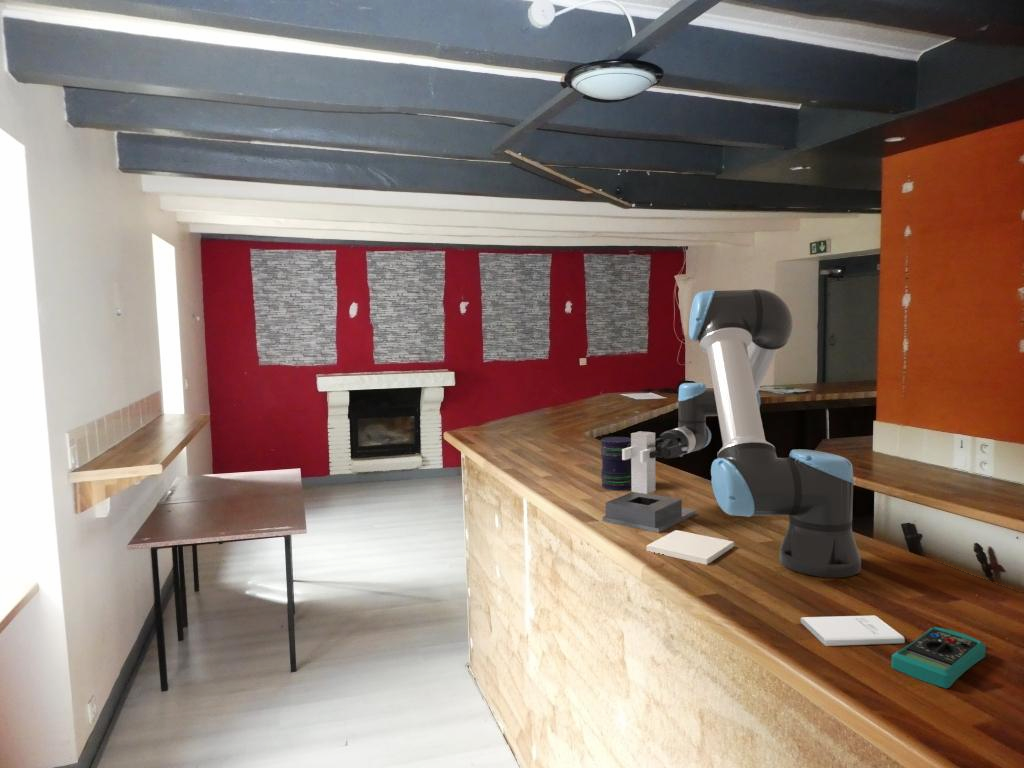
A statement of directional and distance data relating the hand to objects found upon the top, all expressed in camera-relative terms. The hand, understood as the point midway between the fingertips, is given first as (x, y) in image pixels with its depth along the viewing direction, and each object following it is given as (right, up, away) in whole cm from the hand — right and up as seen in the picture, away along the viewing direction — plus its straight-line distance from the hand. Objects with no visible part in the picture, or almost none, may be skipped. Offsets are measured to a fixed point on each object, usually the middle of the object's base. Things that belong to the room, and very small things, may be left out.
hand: (632, 455), depth 163 cm
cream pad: (+10, -19, -17) cm, 27 cm away
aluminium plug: (+4, -10, +5) cm, 11 cm away
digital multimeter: (+32, -23, -67) cm, 78 cm away
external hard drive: (+24, -23, -58) cm, 67 cm away
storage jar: (+3, -14, +40) cm, 43 cm away
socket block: (+6, -17, +7) cm, 19 cm away
